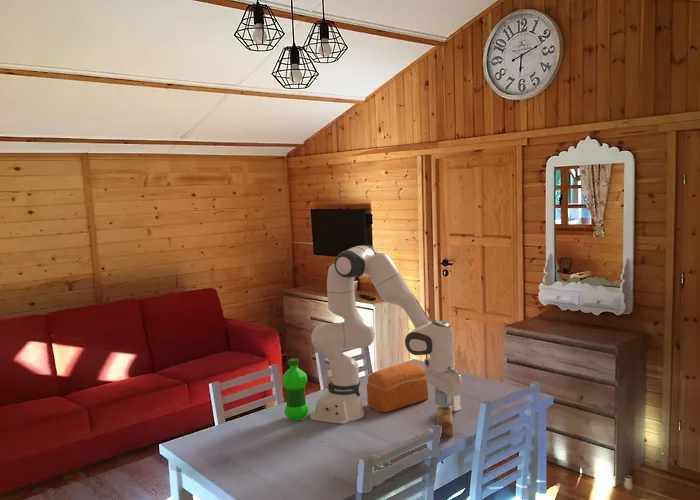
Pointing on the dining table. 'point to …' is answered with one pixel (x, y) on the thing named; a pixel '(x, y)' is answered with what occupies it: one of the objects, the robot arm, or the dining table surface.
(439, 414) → the oak block
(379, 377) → the bread
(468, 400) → the dining table surface
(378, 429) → the dining table surface
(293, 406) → the plastic bottle
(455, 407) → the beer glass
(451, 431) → the walnut base block
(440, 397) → the slate block
